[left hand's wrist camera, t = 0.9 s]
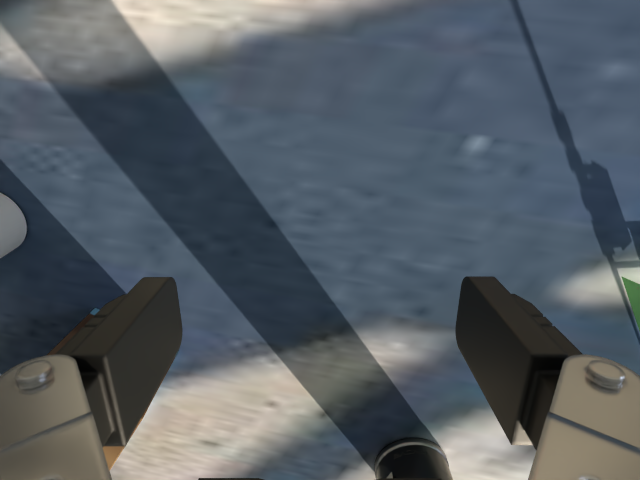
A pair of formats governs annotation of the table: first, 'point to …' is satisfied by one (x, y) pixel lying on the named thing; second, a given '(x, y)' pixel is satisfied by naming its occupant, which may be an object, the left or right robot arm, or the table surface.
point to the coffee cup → (10, 226)
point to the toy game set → (633, 297)
